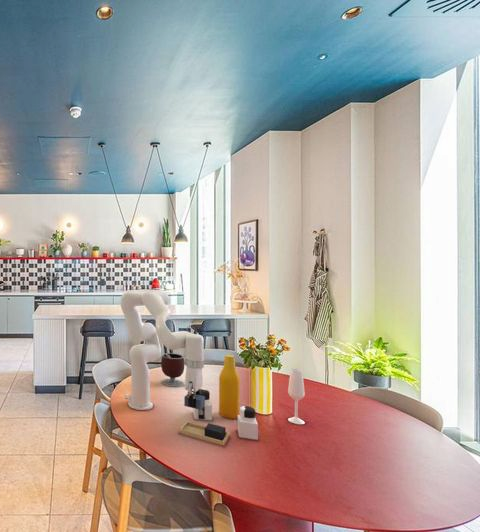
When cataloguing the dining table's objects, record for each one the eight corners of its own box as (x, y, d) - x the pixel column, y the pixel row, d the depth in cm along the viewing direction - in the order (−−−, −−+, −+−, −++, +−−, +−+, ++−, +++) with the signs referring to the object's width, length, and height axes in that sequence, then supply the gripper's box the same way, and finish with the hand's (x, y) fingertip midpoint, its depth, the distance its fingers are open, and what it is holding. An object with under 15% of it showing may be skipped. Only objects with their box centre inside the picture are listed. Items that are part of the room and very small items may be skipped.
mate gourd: (169, 378, 223) (169, 347, 223) (188, 383, 212) (188, 351, 212) (155, 383, 212) (155, 351, 212) (174, 389, 202) (175, 355, 202)
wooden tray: (179, 434, 149) (179, 429, 149) (186, 425, 156) (186, 421, 156) (223, 447, 138) (223, 441, 138) (229, 437, 146) (229, 432, 146)
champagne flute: (307, 425, 158) (307, 372, 158) (291, 423, 159) (291, 371, 159) (301, 418, 164) (301, 368, 164) (285, 417, 166) (285, 367, 166)
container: (212, 421, 161) (212, 393, 161) (194, 419, 162) (194, 392, 162) (209, 414, 168) (209, 388, 168) (192, 413, 170) (192, 386, 170)
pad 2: (204, 437, 144) (204, 428, 144) (208, 432, 149) (208, 423, 149) (222, 442, 140) (222, 433, 140) (225, 437, 145) (225, 427, 145)
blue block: (184, 406, 149) (184, 396, 149) (188, 401, 154) (188, 392, 154) (200, 409, 145) (200, 400, 145) (204, 405, 150) (204, 396, 150)
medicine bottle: (255, 433, 150) (255, 405, 150) (257, 441, 143) (258, 412, 143) (237, 430, 152) (237, 403, 152) (239, 438, 145) (239, 409, 145)
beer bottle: (226, 420, 162) (227, 358, 162) (215, 412, 171) (215, 353, 171) (243, 418, 164) (244, 357, 164) (231, 410, 173) (231, 352, 173)
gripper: (192, 357, 159) (192, 396, 159) (179, 366, 145) (179, 409, 145) (208, 360, 154) (209, 400, 154) (197, 369, 140) (197, 413, 140)
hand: (194, 404), depth 149 cm, fingers closed on blue block, 6 cm apart
